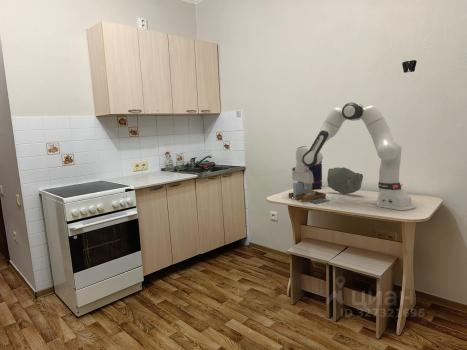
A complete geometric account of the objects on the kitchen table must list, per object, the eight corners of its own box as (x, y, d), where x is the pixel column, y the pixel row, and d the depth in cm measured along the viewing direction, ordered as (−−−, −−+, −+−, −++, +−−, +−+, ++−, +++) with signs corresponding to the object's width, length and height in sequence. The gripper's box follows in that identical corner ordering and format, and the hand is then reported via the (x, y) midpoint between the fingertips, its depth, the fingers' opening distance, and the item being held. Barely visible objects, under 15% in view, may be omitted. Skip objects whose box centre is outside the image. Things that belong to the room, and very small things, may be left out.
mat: (330, 201, 219) (330, 200, 219) (315, 203, 214) (315, 203, 214) (323, 199, 226) (323, 198, 226) (308, 201, 220) (308, 201, 220)
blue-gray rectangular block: (312, 196, 236) (312, 181, 234) (296, 199, 230) (296, 183, 229) (309, 195, 239) (309, 180, 238) (293, 198, 233) (293, 183, 232)
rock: (364, 196, 230) (365, 167, 227) (361, 197, 225) (361, 168, 222) (330, 191, 249) (330, 165, 246) (326, 193, 244) (325, 166, 241)
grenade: (320, 186, 271) (320, 150, 266) (323, 189, 259) (322, 151, 255) (303, 187, 272) (303, 151, 268) (305, 189, 261) (304, 152, 256)
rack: (325, 198, 228) (325, 193, 228) (303, 202, 220) (302, 197, 220) (310, 194, 243) (310, 189, 243) (288, 197, 235) (288, 193, 235)
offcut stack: (317, 198, 228) (316, 192, 228) (305, 200, 224) (305, 194, 224) (313, 197, 232) (313, 191, 231) (301, 199, 228) (301, 193, 227)
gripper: (315, 170, 224) (315, 189, 226) (297, 167, 242) (297, 185, 244) (308, 171, 221) (308, 191, 223) (290, 168, 239) (290, 186, 241)
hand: (302, 188), depth 234 cm, fingers closed on blue-gray rectangular block, 3 cm apart
